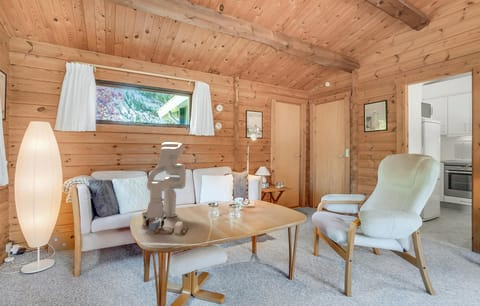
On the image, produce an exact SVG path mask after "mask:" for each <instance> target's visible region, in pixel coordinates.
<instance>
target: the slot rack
mask: <svg viewBox="0 0 480 306" xmlns="http://www.w3.org/2000/svg"><path fill="white" fill-rule="evenodd" d="M188 230H189V225H185V227H183V229H182V231H181V232H180V234H178V233H174V225H173V226H172V227H164V225H163V226H162V227H161V224H160V226H159V227H158V228H157V229H156V230H154V233H153V235H160V236H161V235H162V236H165V235H166V236H167V235H168V236H169V235H171V236H185V235H186V233H187V232H188Z"/></svg>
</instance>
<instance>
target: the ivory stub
mask: <svg viewBox="0 0 480 306" xmlns="http://www.w3.org/2000/svg"><path fill="white" fill-rule="evenodd" d="M173 226H174V233H178V234H180V232H181V231H182V229H183V228H184V227H183V226H184V222H183V220H182V221H179V220H178V221H177V222H176V223H175V224H174V225H173Z"/></svg>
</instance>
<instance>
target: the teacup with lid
mask: <svg viewBox="0 0 480 306" xmlns="http://www.w3.org/2000/svg"><path fill="white" fill-rule="evenodd" d="M146 211H147V209H145V210H143V211H142V213H144V212H146ZM145 216H146V217H147V213H146V214H145ZM159 219H160V218H149V226H148V227H150V224H151V223H152V222H154V221H155V220H157V221H159ZM142 225H143V226H144V227H146V220H145V219H144V218H143V217H142Z"/></svg>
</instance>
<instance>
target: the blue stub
mask: <svg viewBox="0 0 480 306" xmlns="http://www.w3.org/2000/svg"><path fill="white" fill-rule="evenodd" d="M160 225H161V220H155V221H154V222H152V223H151V224H150V226H149V231H156V230H157V229H158V227H159V226H160Z"/></svg>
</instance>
